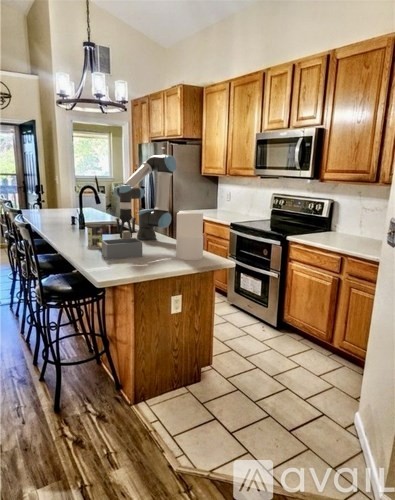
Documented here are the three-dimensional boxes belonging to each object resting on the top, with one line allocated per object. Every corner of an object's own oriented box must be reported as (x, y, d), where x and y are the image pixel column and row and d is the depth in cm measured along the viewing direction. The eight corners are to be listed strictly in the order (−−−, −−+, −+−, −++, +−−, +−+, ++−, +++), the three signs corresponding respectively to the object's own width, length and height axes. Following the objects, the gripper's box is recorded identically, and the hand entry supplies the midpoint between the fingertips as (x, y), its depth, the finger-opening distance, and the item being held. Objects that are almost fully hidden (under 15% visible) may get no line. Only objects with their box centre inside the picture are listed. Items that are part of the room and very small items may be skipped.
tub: (135, 252, 234) (135, 237, 231) (142, 257, 222) (142, 242, 219) (101, 255, 223) (101, 240, 221) (107, 261, 211) (106, 244, 209)
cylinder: (172, 254, 233) (173, 211, 226) (196, 252, 239) (197, 211, 233) (181, 261, 217) (182, 215, 211) (207, 258, 224) (208, 214, 217)
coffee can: (105, 244, 256) (104, 224, 253) (98, 247, 246) (98, 227, 243) (92, 243, 258) (91, 223, 255) (85, 246, 248) (84, 226, 245)
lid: (129, 244, 251) (129, 229, 248) (136, 248, 238) (136, 232, 236) (97, 246, 240) (96, 230, 238) (102, 251, 228) (102, 234, 225)
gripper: (136, 207, 244) (136, 240, 249) (111, 208, 236) (112, 242, 241) (140, 208, 237) (140, 242, 243) (114, 209, 229) (115, 244, 234)
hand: (126, 242), depth 242 cm, fingers closed on lid, 4 cm apart
